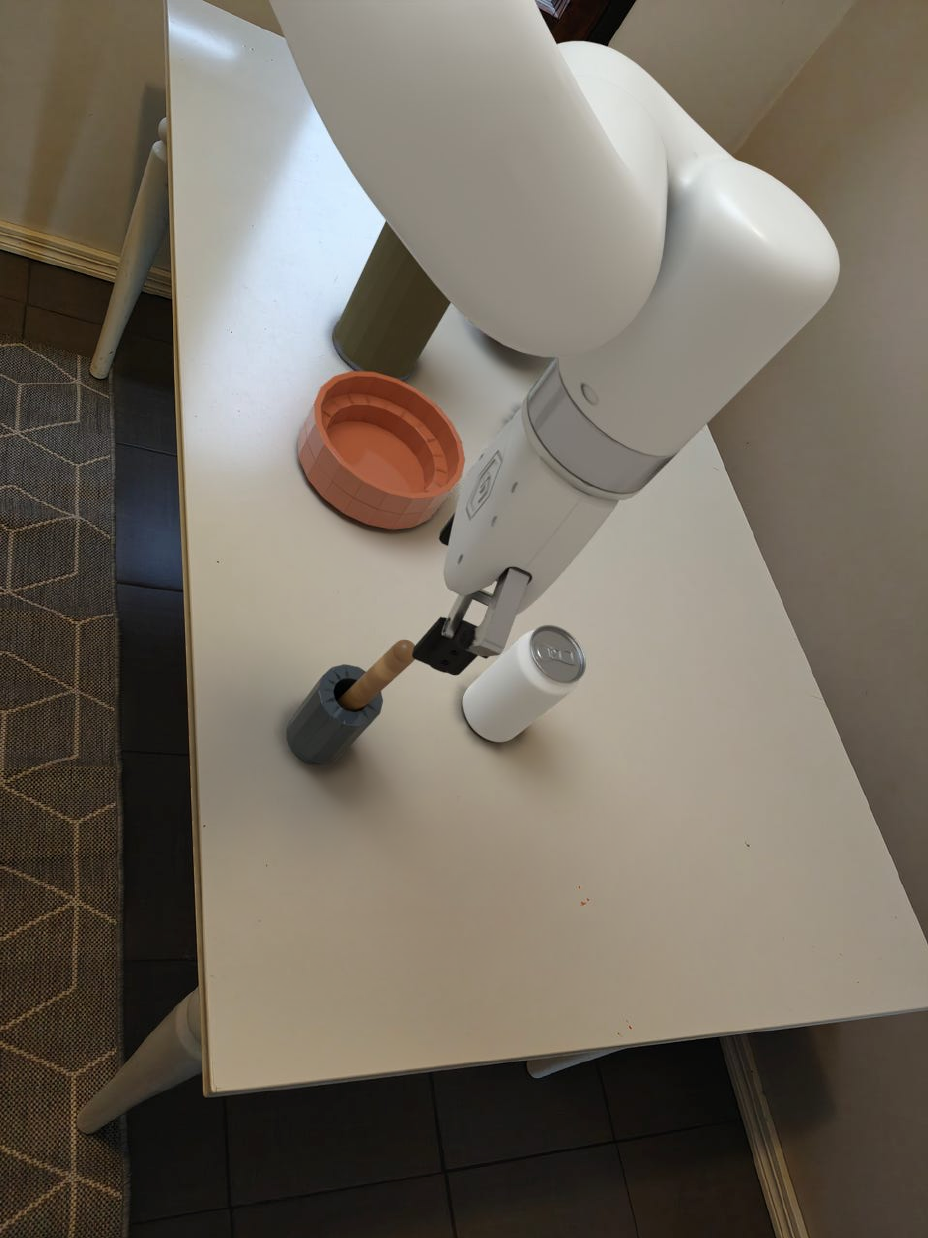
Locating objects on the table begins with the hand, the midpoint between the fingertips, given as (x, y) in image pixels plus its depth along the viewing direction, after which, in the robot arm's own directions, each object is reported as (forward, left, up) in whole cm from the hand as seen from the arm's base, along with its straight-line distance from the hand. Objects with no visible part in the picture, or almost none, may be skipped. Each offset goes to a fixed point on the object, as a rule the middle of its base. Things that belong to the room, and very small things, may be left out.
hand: (447, 602), depth 55 cm
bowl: (-3, +33, -23) cm, 40 cm away
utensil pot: (-1, +1, -23) cm, 23 cm away
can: (+15, +10, -23) cm, 29 cm away
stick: (-1, +1, -22) cm, 22 cm away
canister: (-7, +52, -23) cm, 57 cm away
